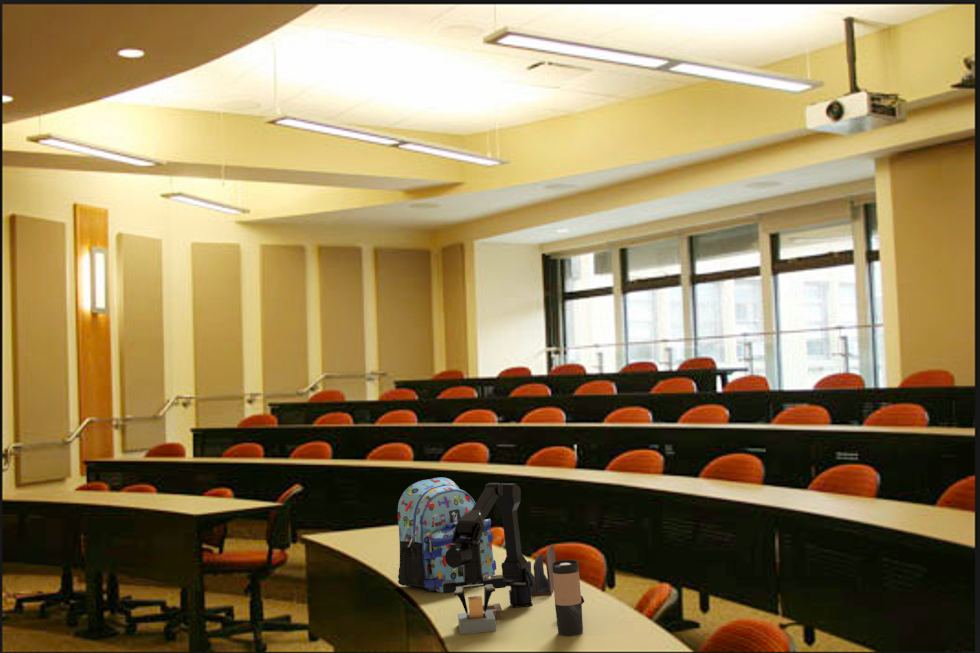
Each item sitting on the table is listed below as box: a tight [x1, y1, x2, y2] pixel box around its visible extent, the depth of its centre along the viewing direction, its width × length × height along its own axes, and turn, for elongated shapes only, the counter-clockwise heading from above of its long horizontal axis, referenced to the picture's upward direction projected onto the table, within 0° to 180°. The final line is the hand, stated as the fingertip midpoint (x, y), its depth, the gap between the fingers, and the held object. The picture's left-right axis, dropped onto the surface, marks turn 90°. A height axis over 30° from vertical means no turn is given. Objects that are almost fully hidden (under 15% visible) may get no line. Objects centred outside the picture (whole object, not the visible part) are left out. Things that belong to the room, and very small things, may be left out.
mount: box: [483, 602, 504, 620], centre depth 316 cm, size 9×9×2 cm
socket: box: [457, 610, 497, 635], centre depth 303 cm, size 11×11×4 cm
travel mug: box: [552, 559, 584, 637], centre depth 290 cm, size 8×8×20 cm
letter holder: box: [527, 544, 557, 597], centre depth 348 cm, size 10×20×14 cm, turn 170°
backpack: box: [397, 477, 497, 594], centre depth 369 cm, size 34×25×38 cm
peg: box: [467, 595, 484, 619], centre depth 303 cm, size 4×4×9 cm
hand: (476, 612), depth 303 cm, fingers open, 5 cm apart
